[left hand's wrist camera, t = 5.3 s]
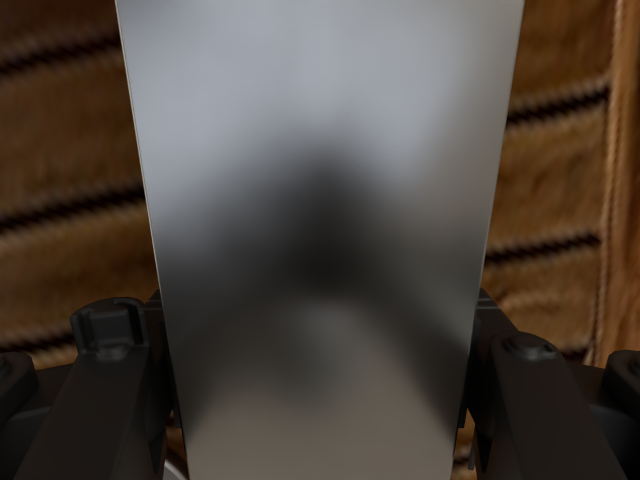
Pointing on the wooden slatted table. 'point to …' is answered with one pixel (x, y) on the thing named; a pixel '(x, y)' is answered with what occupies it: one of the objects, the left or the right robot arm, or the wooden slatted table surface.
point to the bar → (319, 222)
